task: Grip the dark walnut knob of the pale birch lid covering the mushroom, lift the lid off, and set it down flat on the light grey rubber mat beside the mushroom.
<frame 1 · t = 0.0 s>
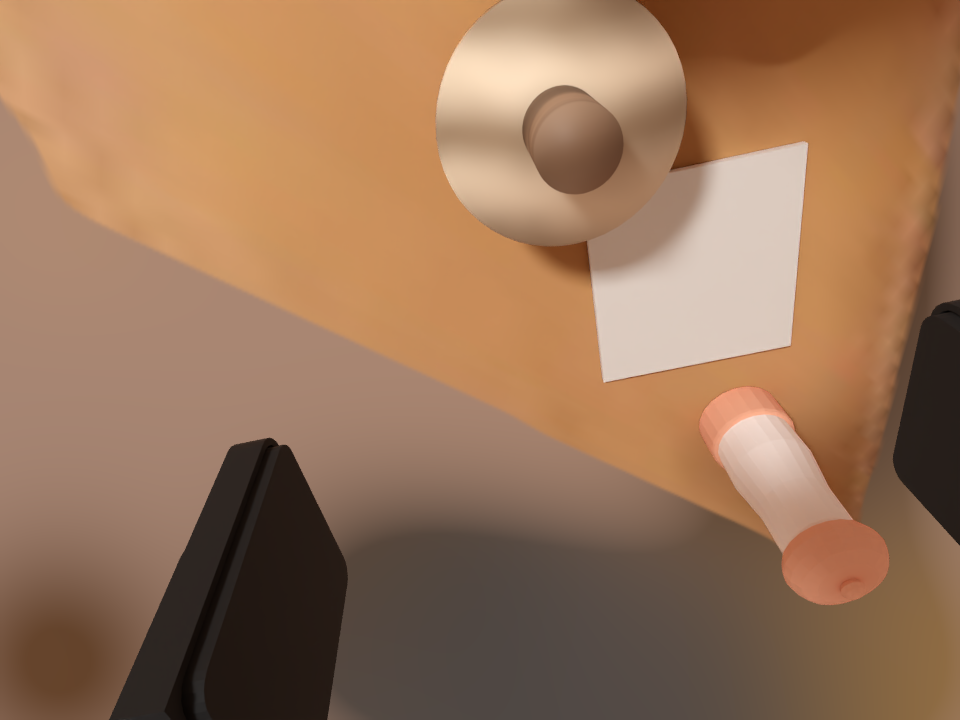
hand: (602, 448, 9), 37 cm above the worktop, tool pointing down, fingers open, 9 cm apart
pepper shaker: (737, 417, 57), on the worktop
mat: (692, 272, 49), on the worktop
lid: (557, 123, 35), point 7 cm above the worktop, touching mushroom
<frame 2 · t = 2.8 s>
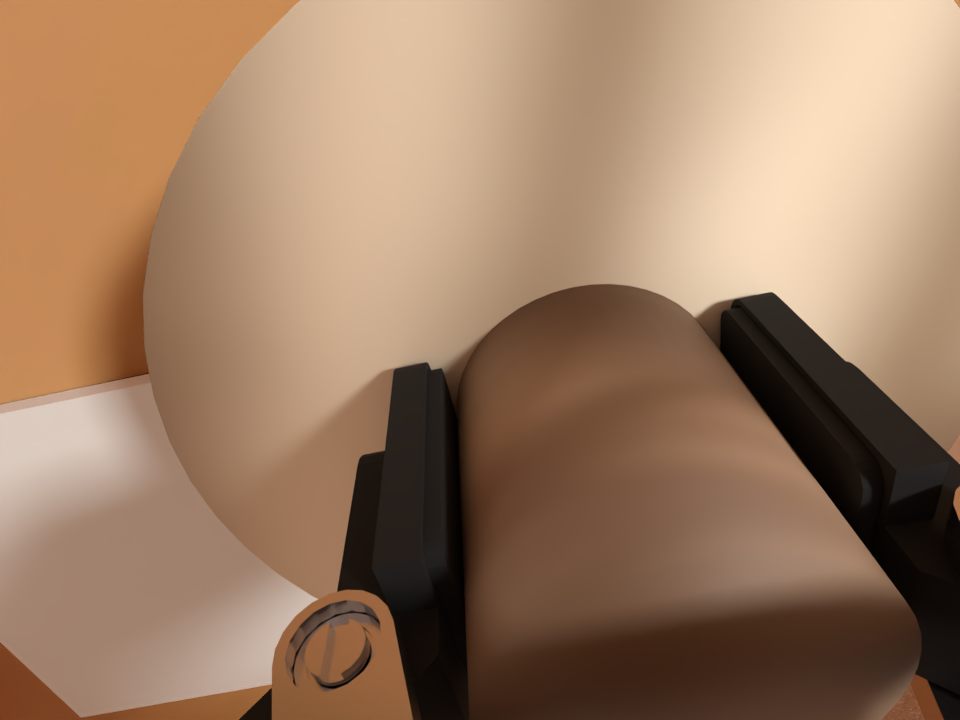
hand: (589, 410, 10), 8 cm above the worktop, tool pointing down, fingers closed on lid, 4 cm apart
mat: (183, 557, 23), on the worktop
lid: (574, 364, 11), point 7 cm above the worktop, touching mushroom, gripper
lidded jar: (838, 468, 23), on the worktop
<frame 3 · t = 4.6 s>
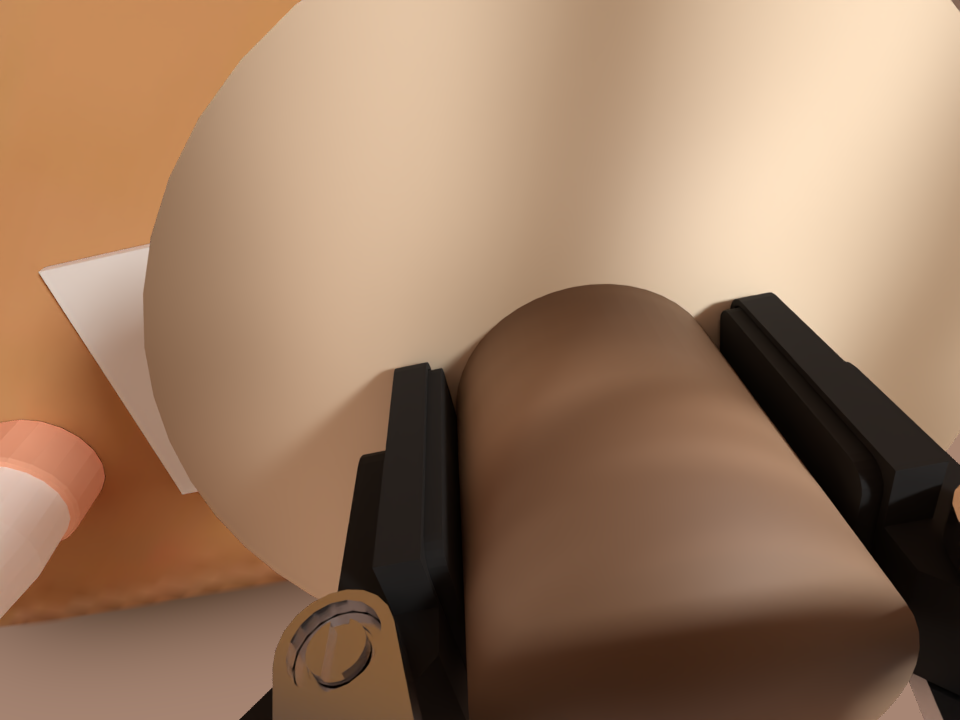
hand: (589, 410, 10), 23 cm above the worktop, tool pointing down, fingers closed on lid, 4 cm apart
pepper shaker: (44, 463, 39), on the worktop
mat: (262, 361, 36), on the worktop
lid: (573, 364, 11), point 21 cm above the worktop, touching gripper
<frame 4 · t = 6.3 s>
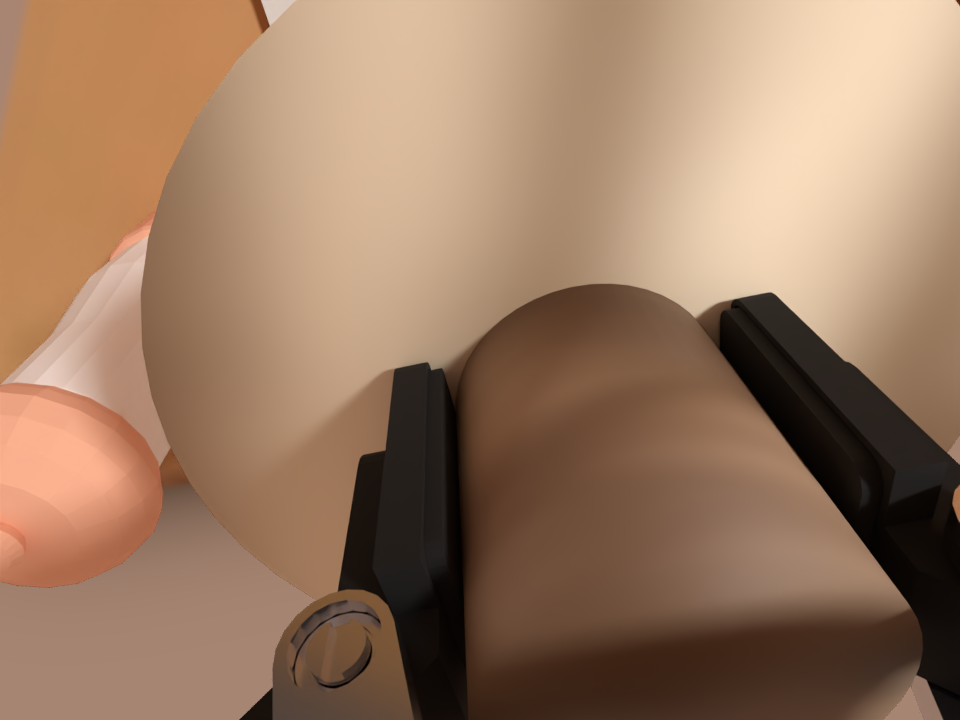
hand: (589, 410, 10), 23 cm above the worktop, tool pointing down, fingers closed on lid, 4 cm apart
pepper shaker: (209, 265, 33), on the worktop
mat: (490, 122, 29), on the worktop
lid: (573, 364, 11), point 21 cm above the worktop, touching gripper
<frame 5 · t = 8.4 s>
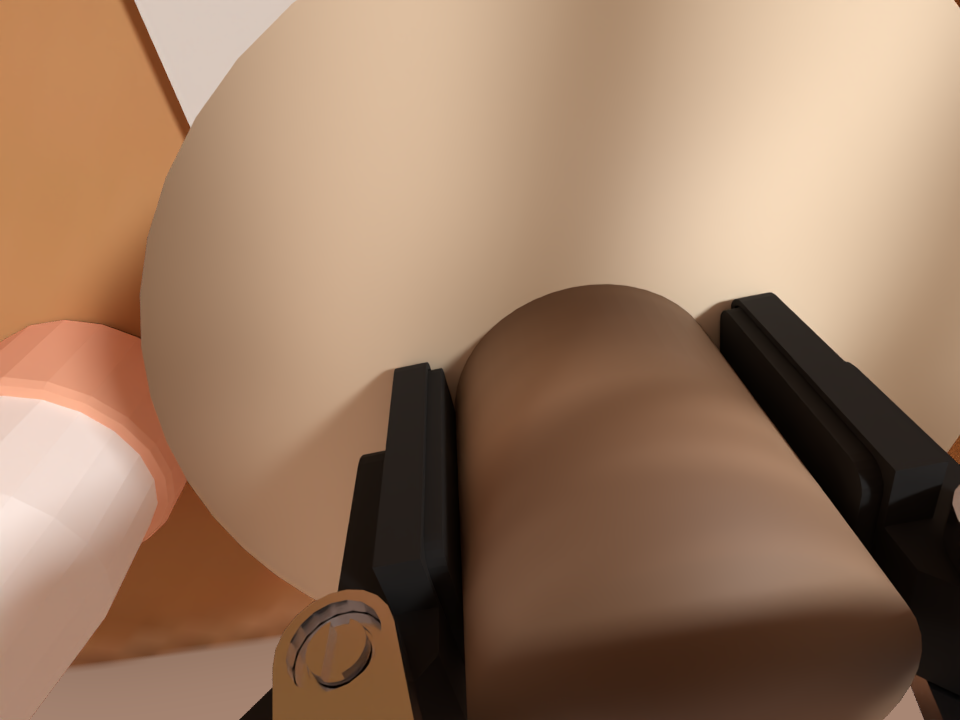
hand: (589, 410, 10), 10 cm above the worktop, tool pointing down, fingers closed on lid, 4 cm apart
pepper shaker: (103, 406, 22), on the worktop
mat: (529, 206, 18), on the worktop
lid: (573, 365, 11), point 9 cm above the worktop, touching gripper
when the fingers open (4 cm above the worktop, at t = 10.1 s): lid drops 2 cm, resting on mat.
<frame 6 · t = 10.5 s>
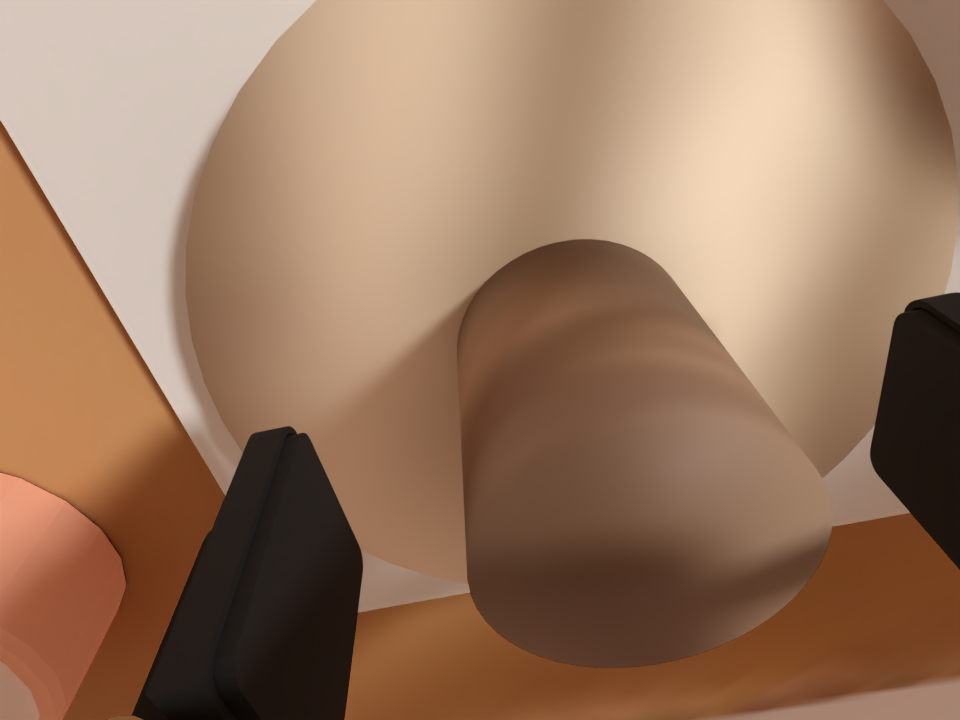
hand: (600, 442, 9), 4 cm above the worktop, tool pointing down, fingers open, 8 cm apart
mat: (554, 308, 13), on the worktop
lid: (562, 319, 13), point 1 cm above the worktop, touching mat
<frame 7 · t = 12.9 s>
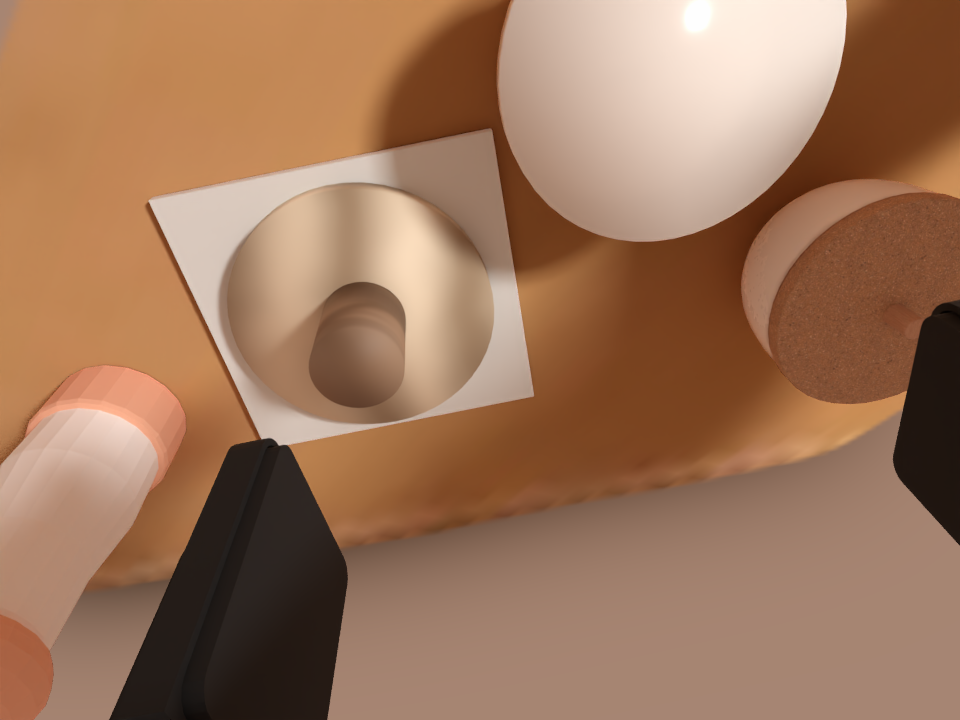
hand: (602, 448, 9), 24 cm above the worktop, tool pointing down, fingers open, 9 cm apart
pepper shaker: (123, 414, 37), on the worktop
mat: (365, 305, 34), on the worktop
lid: (365, 309, 34), point 1 cm above the worktop, touching mat
lidded jar: (800, 248, 35), on the worktop
mushroom: (619, 56, 29), on the worktop
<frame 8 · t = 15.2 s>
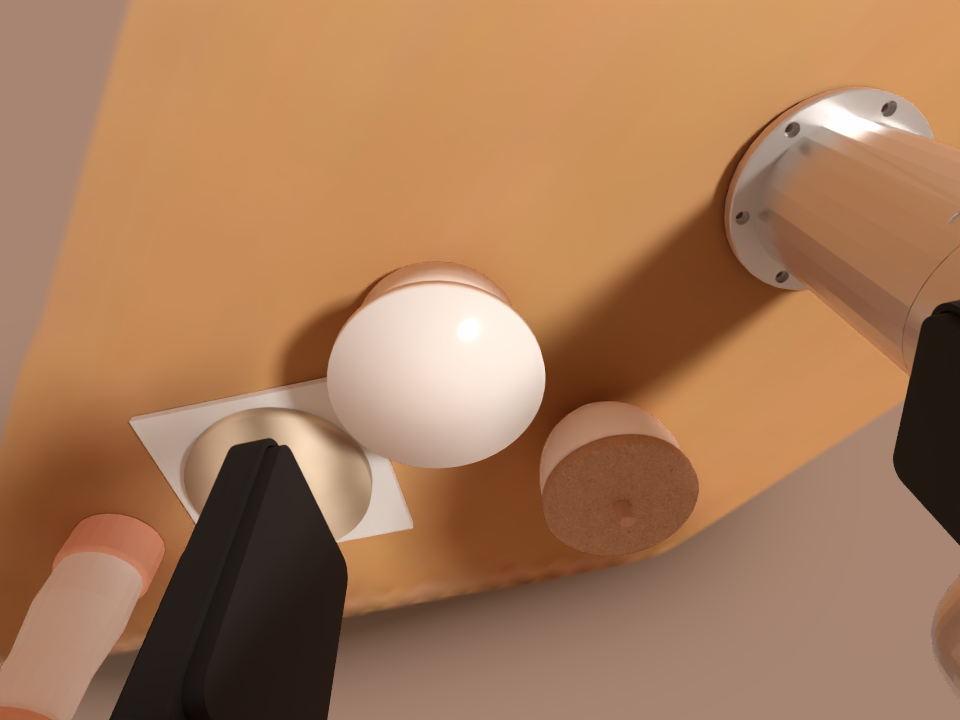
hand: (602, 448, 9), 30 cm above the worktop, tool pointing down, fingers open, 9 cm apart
pepper shaker: (120, 541, 52), on the worktop
mat: (283, 473, 49), on the worktop
lid: (282, 478, 48), point 1 cm above the worktop, touching mat
lidded jar: (596, 430, 49), on the worktop
mushroom: (437, 329, 43), on the worktop
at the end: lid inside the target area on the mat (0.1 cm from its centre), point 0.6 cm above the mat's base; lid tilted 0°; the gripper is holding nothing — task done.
